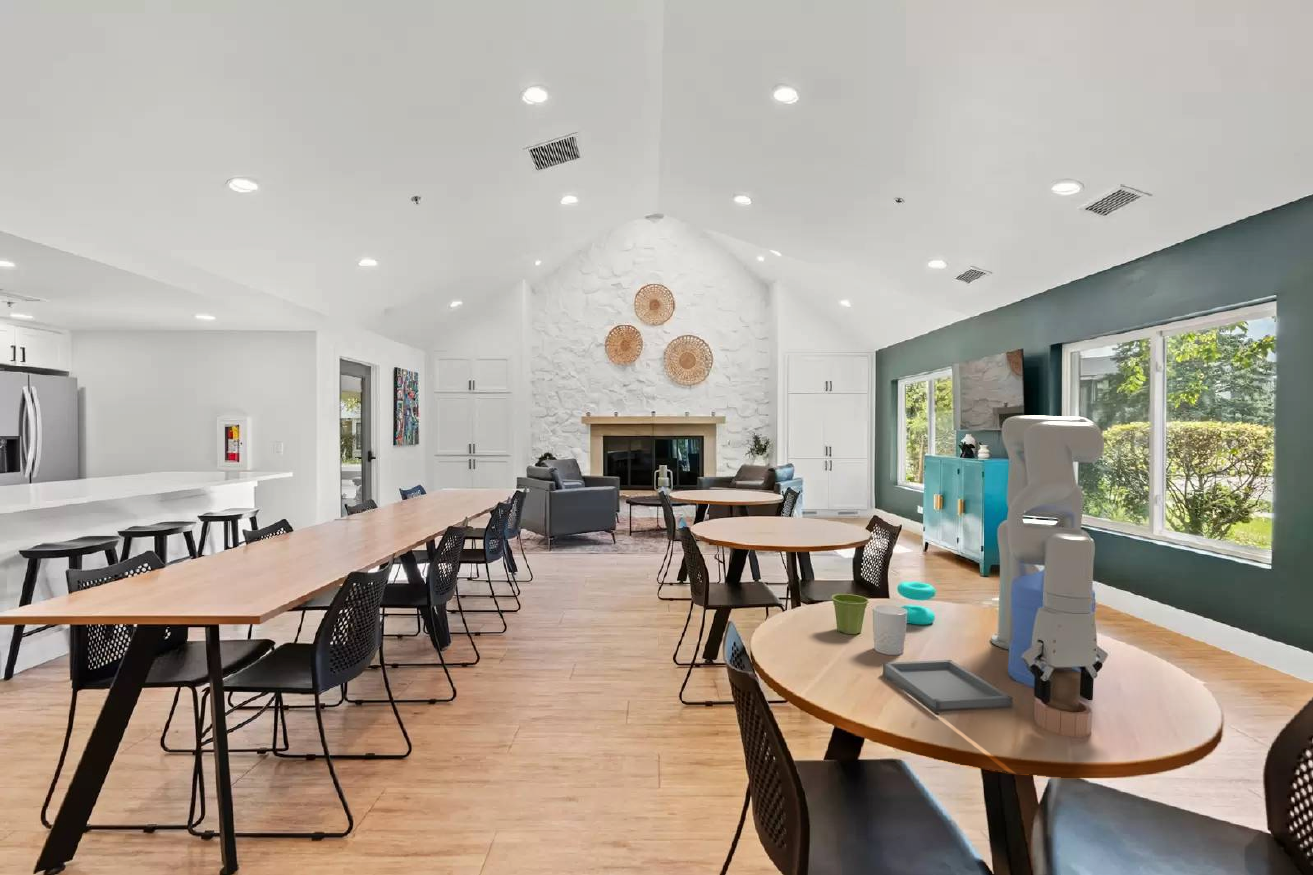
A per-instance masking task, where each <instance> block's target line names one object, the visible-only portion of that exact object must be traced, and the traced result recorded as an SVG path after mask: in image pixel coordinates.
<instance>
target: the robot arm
mask: <svg viewBox="0 0 1313 875" xmlns="http://www.w3.org/2000/svg"><path fill="white" fill-rule="evenodd" d="M1001 438H1002V442H1003V445H1004V447H1005V449H1006V453H1007V456H1008V461H1009V463H1008V464H1009V467H1008V475H1007V476H1008V480H1007V490H1006V491H1007V493H1006V504H1007V508H1008V511H1007V515H1006V519H1005V520H1003V521H1002V522H1001V523H1000V524H999V525H998V528H997V536H996V537H997V544H998V551H999V552H998V553H999V589H998V590H999V591H998V592H999V593H998V594H999V595H998V619H997V620H998V621H997V623H998V624H997V632H995V633H992V635H991V636H990V642H991V643H992V644H993V645H995V646H997V647H999V648H1001V649H1004V650H1008V651H1009V646H1010V642H1011V641H1012V640H1013V614H1012V612H1011V588H1012V581H1013V580H1014V579H1016V578H1019V577H1022V576H1026V575H1029V574H1032V573H1036V572H1039V571H1040V569H1039V568H1038V567H1037V566H1044V567H1043V570H1044V587H1043V607H1040V608H1039V609H1038V612H1037V615H1036V619H1035V623H1034V629H1033V636H1032V646H1031V648H1030V649H1028V650H1027V651H1026V652H1024V653H1023V654H1022V655H1021V657H1022V659H1023V661H1024V663H1025V664H1026V667H1027V668H1028V669H1029V670H1030V672H1031V674H1032V675H1034V676H1035V678H1034V688H1033V696H1034V698H1035V697H1036V698H1038V699H1040V700H1042V701H1043V702H1045V703H1049V702H1050V689H1051V682H1050V681H1049V680H1047V679H1048V677H1049V676H1050V674H1051V673H1052V671H1053V669H1054V668H1071V667H1078V668H1079V670H1080V672H1081V676H1080V698H1084V700H1085V699H1086V700H1087V701H1093V699H1094V680H1095V679H1096V678H1098V672H1100V671H1101V669H1102V667H1103V664H1104V663H1105V661H1106V660H1107V658H1108V656H1109V653H1108V652H1106V651H1105V650H1104V649H1103V648H1101V647H1100V646H1098V636H1097V626H1096V619H1095V613H1094V614H1093V612H1091V609H1092V603H1094V602H1096V597H1095V598H1094V597H1093V596H1092V589H1093V583H1094V561H1095V560H1094V558H1095V555H1096V554H1095V552H1096V547H1095V546H1096V545H1095V541H1094V539H1093V538H1091V535H1090V534H1089V533H1088V532H1087V531H1086V530H1083V529H1082V521H1083V520H1082V519H1083V512H1084V510H1083V509H1084V496H1083V491H1082V488H1081V486H1080V485H1079V484H1078V483H1077V480H1076V475H1075V468H1074V463H1096V462H1098V461H1099V460H1100V459H1101V458H1102V456H1103V453H1104V451H1105V450H1104V449H1105V439H1104V436H1103V433H1102V430H1101V429H1100V427H1099V426H1098V425H1097V424H1096V422H1094V421H1092V420H1090V419H1088V418H1086V417H1083V416H1065V415H1064V416H1060V415H1059V416H1057V415H1055V416H1053V415H1014V416H1010V417H1008V418H1006V419H1005V420H1004V421H1003V423H1002V426H1001ZM1024 517H1028V518H1024ZM1031 518H1033V519H1031ZM1034 518H1040V519H1034ZM1041 518H1042V519H1041ZM1043 519H1056V520H1043ZM1034 659H1035V660H1038V661H1037V662H1036V664H1035V661H1034ZM1044 665H1045V666H1046V667H1045V668H1044V670H1043V671H1042V668H1043V666H1044Z"/></svg>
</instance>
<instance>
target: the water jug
mask: <svg viewBox="0 0 1313 875" xmlns="http://www.w3.org/2000/svg"><path fill="white" fill-rule="evenodd" d="M1043 587H1044V569H1043V570H1039V572H1036V573H1032V574H1029V575H1026V576H1022V577H1019V578H1016V579H1014V580H1013V581H1012V588H1011V612H1012V614H1013V640H1012V641H1011V642H1010V646H1009V650H1008V663H1007V672H1008V675H1009V676H1010V677H1011V679H1013V680H1014V682H1015V681H1016V682H1019V683H1020V684H1022V685H1025V686H1028V687H1031V688H1033V689H1034V678H1035V676H1034V675H1032V674H1031V672H1030V670H1029V669H1028V668H1027V667H1026V664H1025V663H1024V661H1023V659H1022V657H1021V655H1022V654H1023V653H1024V652H1026V651H1027V650H1028V649H1030V648H1031V646H1032V636H1033V629H1034V623H1035V619H1036V615H1037V612H1038V609H1039V608H1040V607H1043ZM1092 596H1093V597H1094V598H1095V599H1096V592H1095V590H1094V589H1093V588H1092ZM1096 603H1097V601H1095V602H1094V603H1092V609H1091V612H1093V614H1094V615H1095V612H1096ZM1034 661H1035V664H1036V662H1037V661H1038V660H1035V659H1034ZM1045 667H1046V666H1045V665H1044V666H1043V668H1042V671H1043V670H1044V668H1045ZM1071 668H1072V669H1075V670H1077V671H1079V672H1080V670H1079V668H1078V667H1071ZM1080 673H1081V672H1080ZM1047 680H1048V679H1047Z"/></svg>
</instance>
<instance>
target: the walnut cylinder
mask: <svg viewBox="0 0 1313 875" xmlns="http://www.w3.org/2000/svg"><path fill="white" fill-rule="evenodd" d="M1080 676H1081V673H1080V672H1079V671H1077V670H1075V669H1072V668H1054V669H1053V671H1052V673H1051V674H1050V676H1049V677H1048V680H1049V681H1050V682H1051V689H1050V702H1049V703H1047V706H1049V707H1051V708H1054V709H1057V710H1060V711H1066V712H1073V713H1075V712H1079V701H1081V700H1080V698H1081V696H1080Z"/></svg>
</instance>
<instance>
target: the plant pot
mask: <svg viewBox="0 0 1313 875" xmlns="http://www.w3.org/2000/svg"><path fill="white" fill-rule="evenodd" d="M830 598H831V600H832V603H833V606H834V613H835V619H836V622H835V623H836V630H837V631H838V632H842V633H843V634H846V635H858V634H860V633H862V631H863V630H862V628H863V623H864V619H865V618H864V617H865V612H866V608H867V606H868V603H869V602H870V600H869V598H868V597H864V596H862V595H857V594H849V593H838V594H833V595H831V597H830Z"/></svg>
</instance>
